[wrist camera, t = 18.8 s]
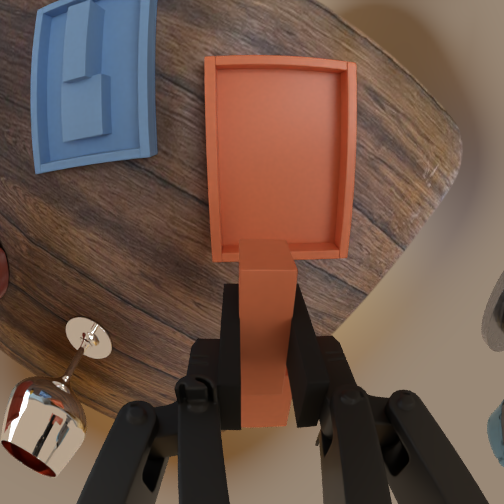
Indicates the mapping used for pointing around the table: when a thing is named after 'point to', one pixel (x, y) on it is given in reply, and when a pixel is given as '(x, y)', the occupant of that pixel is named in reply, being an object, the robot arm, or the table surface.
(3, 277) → the flower pot
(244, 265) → the red offset step block
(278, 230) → the red tray
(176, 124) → the table surface
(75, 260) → the table surface
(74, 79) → the blue stepped block
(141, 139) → the blue tray
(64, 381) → the wineglass
